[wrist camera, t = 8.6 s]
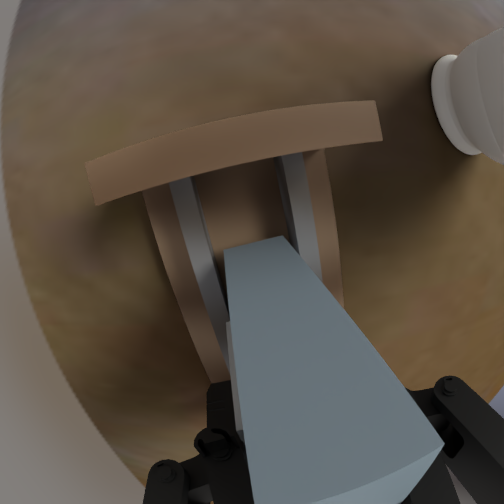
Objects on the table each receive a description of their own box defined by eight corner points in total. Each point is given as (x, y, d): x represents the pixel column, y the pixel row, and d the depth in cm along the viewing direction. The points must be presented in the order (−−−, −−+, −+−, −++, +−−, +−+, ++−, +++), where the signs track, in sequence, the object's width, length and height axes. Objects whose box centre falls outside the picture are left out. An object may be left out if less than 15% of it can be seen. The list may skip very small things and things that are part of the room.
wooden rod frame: (139, 160, 14) (84, 163, 8) (311, 121, 15) (375, 100, 8) (220, 396, 20) (226, 469, 14) (341, 364, 21) (377, 427, 14)
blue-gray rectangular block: (223, 249, 14) (256, 514, 3) (282, 235, 14) (444, 443, 3) (259, 378, 17) (301, 554, 6) (304, 366, 17) (373, 532, 6)
